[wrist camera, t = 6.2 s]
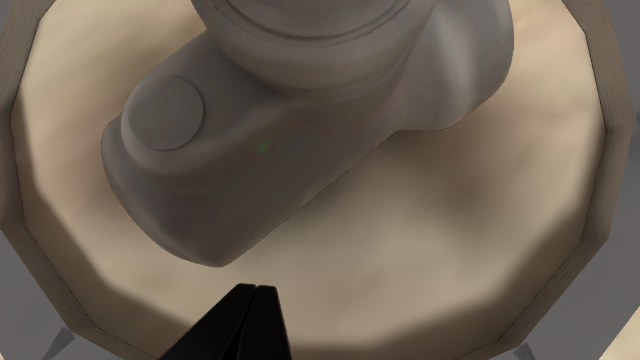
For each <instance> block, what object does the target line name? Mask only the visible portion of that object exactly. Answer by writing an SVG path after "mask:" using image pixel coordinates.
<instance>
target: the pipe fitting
mask: <svg viewBox="0 0 640 360" xmlns="http://www.w3.org/2000/svg"><path fill="white" fill-rule="evenodd" d="M191 2H192V4H193V6H194V8H195V9H196V11H197V13H198V14H199V16H200V18H201V19H202V21H203V23H204V24H205V26H206V28H207V30H206V31H204V32H203V33H201V34H200V35H198V36H197V37H195V38H194V39H192V40H191V41H190V42H188V43H187V44H186V45H184V46H183V47H181V48H180V49H179V50H177V51H176V52H175V53H173V54H172V55H171V56H169V57H168V58H167V59H165V60H164V61H162V62H161V63H160V64H158V65H157V66H155V67H154V68H153V69H152V70H150V71H149V72H148V73H147V74H146V75H145V76H143V77H142V78H141V79H140V81H139V82H138V83H137V84H136V85H135V87H134V88H133V89H132V91H131V93H130V94H129V96H128V98H127V101H126V103H125V106H124V109H123V112H122V113H121V114H120V115H119V116H117V117H116V118H115V119H114V120H113V121H112V122H111V123H109V125H108V126H107V127H106V128H105V130H104V132H103V136H102V141H101V152H102V159H103V165H104V169H105V173H106V176H107V179H108V181H109V183H110V185H111V188H112V190H113V191H114V193H115V195H116V196H117V198H118V200H119V201H120V203H121V204H122V206H123V207H124V209H125V210H126V211H127V213H128V214H129V215H130V217H131V218H132V219H133V220H134V221H135V223H136V224H137V225H138V226H139V227H140V228H141V229H142V230H143V231H144V232H145V233H146V234H147V235H148V236H149V237H150V238H151V239H152V240H153V241H154V242H156V243H157V244H158V245H159V246H161V247H162V248H163V249H165V250H166V251H168V252H170V253H171V254H173V255H175V256H177V257H179V258H181V259H184V260H187V261H190V262H194V263H198V264H202V265H205V266H209V267H223V266H226V265H228V264H229V263H231V262H232V261H234V260H235V259H236V258H238V257H239V256H240V255H242V254H243V253H245V252H246V251H247V250H249V249H250V248H251V247H253V246H254V245H255V244H256V243H258V242H259V241H260V240H261V239H263V238H264V237H265V236H266V235H268V234H269V233H270V232H271V231H273V230H274V229H275V228H276V227H278V226H279V225H280V224H281V223H283V222H284V221H285V220H286V219H288V218H289V217H290V216H291V215H293V214H294V213H295V212H296V211H298V210H299V209H300V208H301V207H302V206H304V205H305V204H306V203H307V202H309V201H310V200H311V199H312V198H314V197H315V196H316V195H317V194H319V193H320V192H321V191H322V190H324V189H325V188H326V187H327V186H328V185H330V184H331V183H332V182H333V181H335V180H336V179H337V178H338V177H340V176H341V175H342V174H343V173H345V172H346V171H347V170H348V169H350V168H351V167H352V166H353V165H355V164H356V163H357V162H358V161H359V160H361V159H362V158H363V157H364V156H366V155H367V154H368V153H369V152H371V151H372V150H373V149H374V148H376V147H377V146H378V145H379V144H381V143H382V142H383V141H384V140H386V139H387V138H388V137H389V136H390V135H392V134H393V133H394V132H396V131H398V130H440V129H445V128H448V127H450V126H452V125H454V124H456V123H457V122H459V121H460V120H461V119H463V118H464V117H465V116H467V115H468V114H469V113H470V112H472V111H473V110H474V109H475V108H477V107H478V106H479V105H481V104H482V103H483V102H484V101H486V100H487V99H488V98H490V97H491V96H492V95H493V94H494V93H495V92H496V91H497V90H498V89H499V87H500V86H501V85H502V83H503V82H504V80H505V78H506V77H507V74H508V72H509V68H510V65H511V61H512V56H513V49H514V29H513V21H512V15H511V10H510V5H509V2H508V0H191Z"/></svg>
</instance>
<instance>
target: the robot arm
mask: <svg viewBox="0 0 640 360" xmlns="http://www.w3.org/2000/svg"><path fill="white" fill-rule="evenodd" d="M157 360H293V357H292V353H291V349H290V344H289V340H288V336H287V331H286V327H285V322H284V318H283V314H282V309H281V305H280V301H279V296H278V292H277V288H276V287H275V286H267V285H259V286H258V287H257V286H256V285H254V284H244V283H240V284H237V285H236V286H235V287H234V288H233V289H232V290H231V291H230V292H229V293H228V294H226V295H225V296H224V297H223V298H222V299H221V300H220V301H219V302H218V303H217V304H216V305H215V306H214V307H213V308H212V309H210V310H209V311H208V312H207V313H206V314H205V315H204V316H203V317H202V318H201V319H200V320H199V321H198V322H197V323H196V324H194V325H193V326H192V327H191V328H190V329H189V330H188V331H187V332H186V333H185V334H184V335H183V336H182V337H181V338H180V339H178V340H177V341H176V342H175V343H174V344H173V345H172V346H171V347H170V348H169V349H168V350H167V351H166V352H165V353H164V354H163V355H161V356H160V357H159V358H158V359H157Z"/></svg>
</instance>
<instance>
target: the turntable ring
mask: <svg viewBox="0 0 640 360" xmlns="http://www.w3.org/2000/svg"><path fill="white" fill-rule="evenodd" d="M54 1H55V0H0V353H1V354H2V356H3V358H4V359H5V360H157V359H155V358H153V357H151V356H149V355H147V354H146V353H144V352H142V351H140V350H138V349H136V348H134V347H132V346H130V345H128V344H127V343H125V342H123V341H121V340H119V339H117V338H115V337H113V336H111V335H110V334H108V333H106V332H104V331H102V330H100V329H98V328H96V327H95V325H94V324H93V322H92V321H91V320H90V318H89V317H88V315H87V314H86V312H85V311H84V310H83V308H82V307H81V305H80V304H79V303H78V301H77V300H76V298H75V297H74V296H73V294H72V293H71V291H70V290H69V288H68V287H67V286H66V284H65V283H64V281H63V280H62V279H61V277H60V276H59V274H58V273H57V272H56V270H55V269H54V267H53V266H52V264H51V263H50V262H49V260H48V259H47V257H46V256H45V255H44V253H43V252H42V250H41V249H40V247H39V246H38V245H37V243H36V242H35V240H34V239H33V238H32V236H31V235H30V233H29V232H28V231H27V229H26V228H25V226H24V219H23V212H22V205H21V198H20V191H19V184H18V177H17V170H16V163H15V156H14V148H13V141H12V134H11V127H10V120H9V115H10V111H11V108H12V105H13V102H14V99H15V95H16V92H17V89H18V86H19V83H20V79H21V76H22V73H23V70H24V67H25V63H26V60H27V57H28V54H29V51H30V47H31V44H32V41H33V38H34V35H35V31H36V28H37V25H38V22H39V19H40V18H41V17H42V15H43V14H44V13H45V12H46V11H47V9H48V8H49V7H50V6H51V4H52V3H53V2H54ZM562 1H563V2H564V3H565V5H566V6H567V8H568V9H569V10H570V12H571V13H572V15H573V16H574V18H575V19H576V20H577V22H578V23H579V25H580V26H581V27H582V29H583V30H584V32H585V33H586V37H587V42H588V46H589V51H590V55H591V60H592V64H593V69H594V74H595V78H596V83H597V87H598V92H599V96H600V101H601V106H602V110H603V115H604V119H605V124H606V128H607V137H606V142H605V146H604V150H603V154H602V158H601V163H600V167H599V171H598V175H597V179H596V183H595V188H594V192H593V196H592V200H591V204H590V208H589V213H588V217H587V221H586V225H585V229H584V233H583V238H582V242H581V244H580V245H579V247H578V248H577V249H576V250H575V251H574V252H573V254H572V255H571V256H570V257H569V258H568V259H567V261H566V262H565V263H564V264H563V265H562V267H561V268H560V269H559V270H558V271H557V272H556V274H555V275H554V276H553V277H552V278H551V279H550V281H549V282H548V283H547V284H546V285H545V287H544V288H543V289H542V290H541V291H540V292H539V294H538V295H537V296H536V297H535V298H534V299H533V301H532V302H531V303H530V304H529V305H528V307H527V308H526V309H525V310H524V311H523V312H522V314H521V315H520V316H519V317H518V318H517V319H516V321H515V322H514V323H513V324H512V325H511V327H510V328H509V329H508V330H507V331H506V332H505V334H504V335H503V336H502V337H501V338H500V339H499V341H497V342H495V343H492V344H490V345H488V346H485V347H483V348H481V349H478V350H476V351H474V352H472V353H469V354H467V355H465V356H462V357H460V358H458V359H455V360H599V358H600V357H601V356H602V354H603V353H604V352H605V350H606V349H607V348H608V346H609V345H610V344H611V343H612V341H613V340H614V339H615V337H616V336H617V335H618V333H619V332H620V331H621V330H622V328H623V327H624V326H625V324H626V323H627V322H628V320H629V319H630V318H631V316H632V315H633V314H634V313H635V311H636V310H637V309H638V307H639V306H640V0H562Z"/></svg>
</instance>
